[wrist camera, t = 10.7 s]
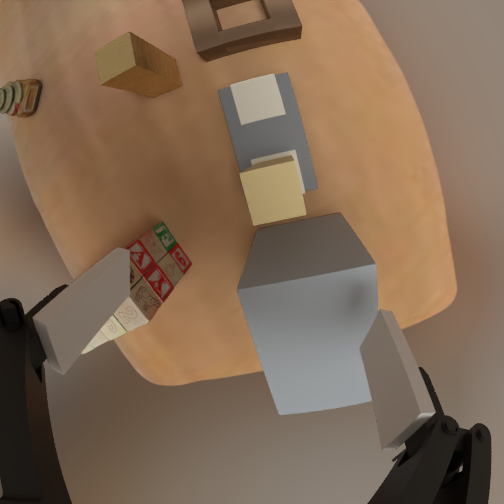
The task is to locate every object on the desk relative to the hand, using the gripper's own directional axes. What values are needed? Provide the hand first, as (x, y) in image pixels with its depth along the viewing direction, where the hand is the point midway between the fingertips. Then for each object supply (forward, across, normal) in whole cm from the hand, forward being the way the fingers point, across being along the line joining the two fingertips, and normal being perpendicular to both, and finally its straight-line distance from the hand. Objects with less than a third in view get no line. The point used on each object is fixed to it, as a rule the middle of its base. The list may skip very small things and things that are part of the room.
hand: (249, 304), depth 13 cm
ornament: (+18, -39, +11) cm, 45 cm away
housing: (+17, +6, -6) cm, 19 cm away
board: (+17, -2, +8) cm, 19 cm away
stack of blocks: (+17, -17, -13) cm, 28 cm away
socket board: (+18, -9, +24) cm, 31 cm away
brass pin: (+17, -14, +13) cm, 26 cm away
